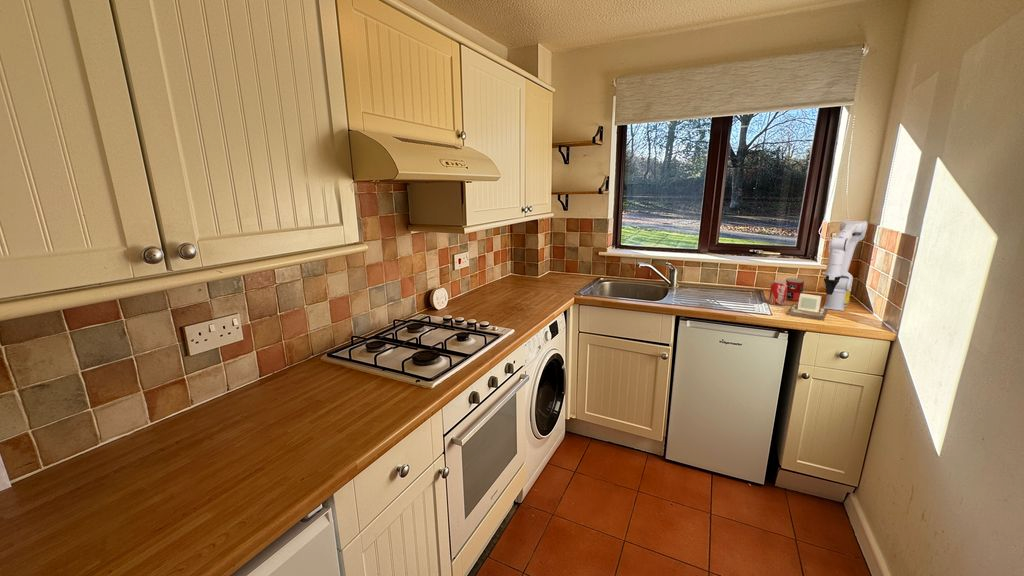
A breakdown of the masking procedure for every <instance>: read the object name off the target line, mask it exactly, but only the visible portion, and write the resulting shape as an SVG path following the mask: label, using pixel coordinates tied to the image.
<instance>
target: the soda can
mask: <svg viewBox="0 0 1024 576" xmlns="http://www.w3.org/2000/svg"><path fill="white" fill-rule="evenodd" d="M786 283H787V282H786V280H785V281H784V280H773V282H772V283H771V287H770V291H769V298H768V300H769V301H768V303H769V304H770V305H771V306H775V307H782V306H784V305H785V304H786V301H787V300H786V295H787V287H788V286H787V284H786Z"/></svg>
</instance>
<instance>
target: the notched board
mask: <svg viewBox="0 0 1024 576" xmlns="http://www.w3.org/2000/svg"><path fill="white" fill-rule="evenodd" d="M828 310H829V309H827V308H823V307H820V308H819V312H814V311H808V310H801V309H798V303H792V305H791V306H790V308H789V309H788V311H787V312H786V315H787V316H791V317H795V318H796V317H797V318H804V319H810V320H816V321H821V320H822V321H821V322H823V321H825V317H826V315H827V313H828Z"/></svg>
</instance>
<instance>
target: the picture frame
mask: <svg viewBox="0 0 1024 576" xmlns="http://www.w3.org/2000/svg"><path fill="white" fill-rule="evenodd" d="M821 301H822V295H815V294H808V293H803V292H802V293H801V294H800V297H799V302H798V303H797V304H798V309H801V310H808V311H814V312H819V308H821V307H820V306H821Z"/></svg>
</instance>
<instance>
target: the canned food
mask: <svg viewBox="0 0 1024 576" xmlns="http://www.w3.org/2000/svg"><path fill="white" fill-rule="evenodd" d="M785 282H787V283H786V284H787V286H788V287H787V295H786V301H787V302H793V303H795V302H798V303H799V297H800V294H801V293H802V294H803V291H804V286H805V280H804V279H801V278H792V277H791V278H790V277H788V278H786V279H785Z"/></svg>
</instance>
